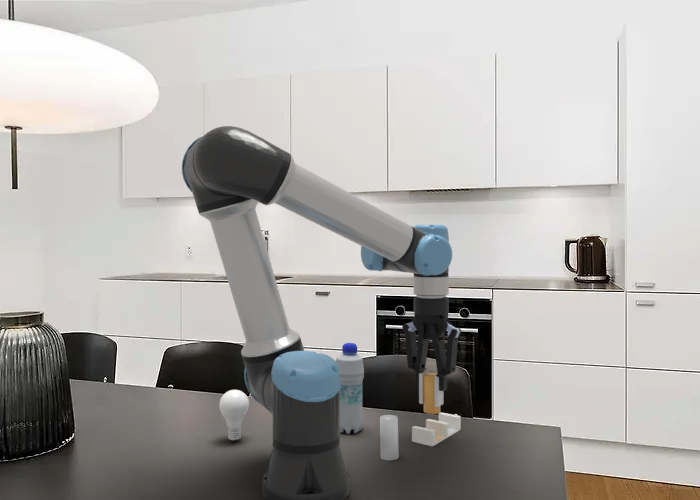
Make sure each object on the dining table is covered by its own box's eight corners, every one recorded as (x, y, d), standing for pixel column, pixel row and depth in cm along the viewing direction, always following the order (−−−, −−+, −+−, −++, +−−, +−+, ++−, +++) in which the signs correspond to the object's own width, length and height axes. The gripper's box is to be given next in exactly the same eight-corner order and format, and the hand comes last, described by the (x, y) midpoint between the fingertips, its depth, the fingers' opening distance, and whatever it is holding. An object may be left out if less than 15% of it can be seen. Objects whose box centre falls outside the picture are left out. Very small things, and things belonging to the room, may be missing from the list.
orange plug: (443, 410, 132) (443, 374, 132) (436, 414, 129) (435, 377, 129) (428, 407, 134) (428, 372, 134) (420, 412, 131) (420, 375, 131)
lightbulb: (213, 442, 129) (212, 391, 129) (232, 433, 135) (231, 385, 134) (236, 447, 126) (236, 395, 126) (255, 438, 132) (255, 388, 131)
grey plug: (392, 461, 119) (391, 421, 118) (377, 457, 121) (376, 418, 120) (402, 456, 121) (401, 416, 121) (387, 452, 124) (386, 413, 123)
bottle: (365, 426, 140) (365, 340, 139) (362, 436, 133) (363, 346, 133) (336, 425, 141) (336, 339, 140) (332, 435, 134) (332, 345, 133)
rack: (432, 446, 127) (432, 431, 127) (411, 441, 130) (411, 427, 130) (460, 429, 138) (460, 416, 138) (441, 425, 141) (441, 412, 140)
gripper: (473, 296, 129) (473, 405, 129) (407, 292, 138) (408, 393, 139) (457, 300, 123) (457, 414, 123) (390, 295, 132) (390, 401, 133)
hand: (431, 403), depth 131 cm, fingers closed on orange plug, 3 cm apart
